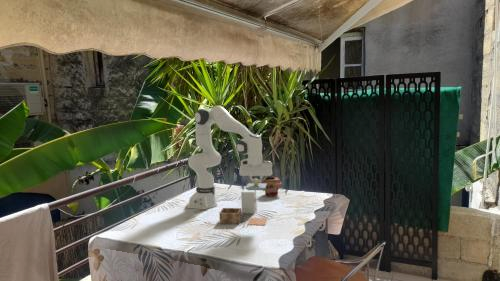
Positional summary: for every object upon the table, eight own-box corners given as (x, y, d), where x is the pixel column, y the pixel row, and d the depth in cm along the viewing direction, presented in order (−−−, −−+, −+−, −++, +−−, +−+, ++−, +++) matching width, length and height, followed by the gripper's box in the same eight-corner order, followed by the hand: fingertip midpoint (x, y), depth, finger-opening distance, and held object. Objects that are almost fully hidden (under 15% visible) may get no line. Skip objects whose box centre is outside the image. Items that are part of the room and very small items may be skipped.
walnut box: (219, 224, 219) (219, 213, 218) (223, 218, 229) (223, 207, 228) (238, 224, 217) (238, 213, 216) (241, 218, 227) (241, 208, 226)
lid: (245, 190, 213) (245, 181, 213) (248, 186, 223) (247, 177, 222) (265, 190, 211) (264, 181, 211) (266, 186, 221) (266, 177, 221)
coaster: (247, 224, 216) (247, 224, 216) (250, 218, 226) (250, 217, 226) (265, 225, 214) (265, 224, 214) (267, 218, 225) (267, 218, 225)
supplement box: (254, 214, 235) (254, 192, 233) (241, 213, 237) (240, 192, 235) (257, 209, 244) (256, 188, 242) (244, 209, 245) (243, 188, 243)
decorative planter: (257, 198, 270) (257, 180, 268) (256, 193, 282) (255, 176, 280) (283, 196, 271) (282, 179, 269) (280, 192, 283) (280, 175, 282)
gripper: (272, 159, 217) (273, 181, 218) (240, 159, 220) (241, 181, 222) (271, 161, 210) (272, 184, 212) (238, 161, 214) (239, 184, 215)
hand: (256, 182), depth 217 cm, fingers closed on lid, 3 cm apart
